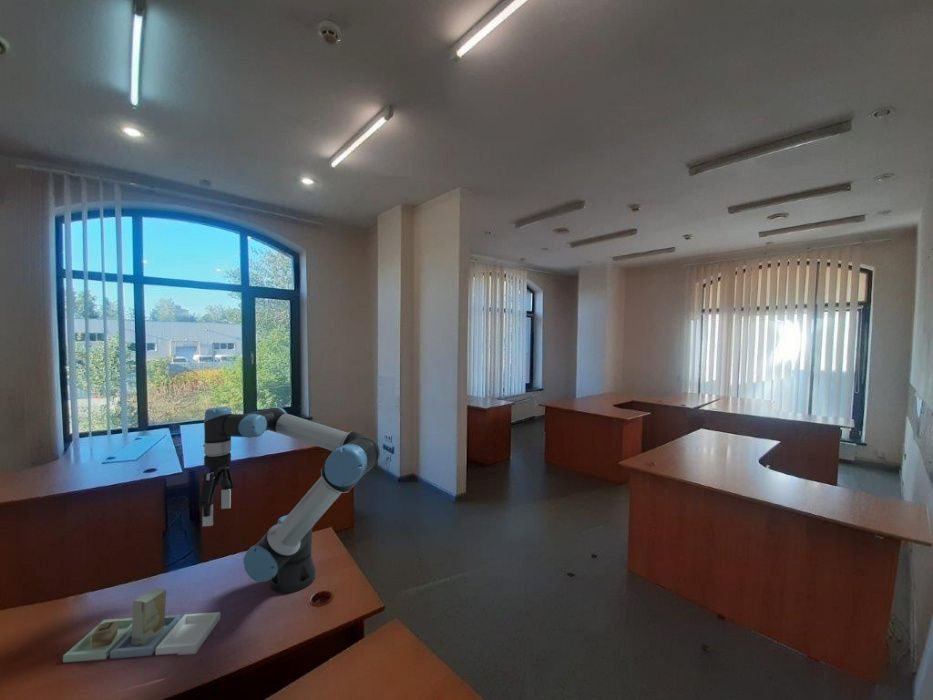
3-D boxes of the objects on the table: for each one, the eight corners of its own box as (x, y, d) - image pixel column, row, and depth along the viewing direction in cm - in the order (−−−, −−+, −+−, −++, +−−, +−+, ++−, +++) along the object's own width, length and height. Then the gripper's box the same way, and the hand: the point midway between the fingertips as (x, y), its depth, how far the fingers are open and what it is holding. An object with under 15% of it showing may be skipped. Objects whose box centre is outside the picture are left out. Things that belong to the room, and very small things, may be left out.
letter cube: (117, 634, 107) (117, 620, 107) (110, 644, 103) (110, 630, 103) (99, 638, 105) (99, 624, 105) (91, 648, 102) (92, 634, 102)
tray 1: (141, 625, 111) (141, 617, 111) (105, 661, 99) (106, 652, 99) (103, 627, 110) (104, 619, 110) (62, 664, 97) (63, 655, 97)
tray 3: (220, 619, 115) (220, 612, 115) (195, 653, 102) (195, 645, 102) (184, 622, 113) (185, 614, 113) (155, 657, 100) (155, 648, 100)
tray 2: (181, 622, 113) (181, 614, 113) (151, 657, 100) (151, 648, 100) (144, 625, 112) (145, 617, 112) (109, 660, 99) (110, 651, 99)
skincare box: (143, 647, 103) (144, 603, 103) (130, 645, 103) (131, 601, 103) (165, 630, 109) (167, 588, 109) (153, 628, 110) (154, 586, 110)
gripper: (221, 445, 136) (221, 502, 136) (185, 465, 112) (184, 535, 112) (244, 444, 138) (243, 501, 138) (213, 463, 113) (212, 532, 113)
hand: (217, 516), depth 125 cm, fingers open, 13 cm apart
